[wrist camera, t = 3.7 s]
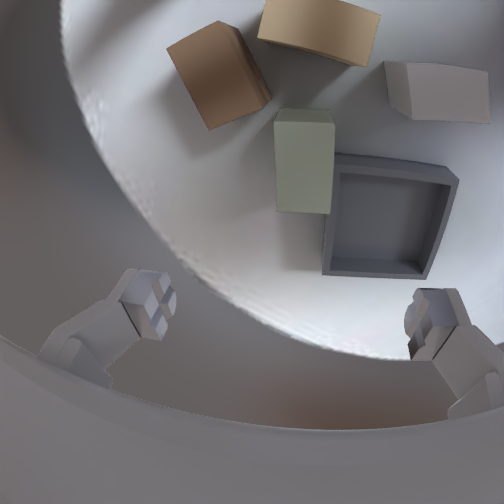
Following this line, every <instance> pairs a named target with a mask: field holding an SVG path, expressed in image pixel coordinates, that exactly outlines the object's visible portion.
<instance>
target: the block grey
mask: <svg viewBox="0 0 504 504" xmlns="http://www.w3.org/2000/svg"><path fill="white" fill-rule="evenodd" d="M383 63H384V69H385V75H386V82H387V89H388V96H389V105H390V107H392V108H393V109H395V110H397V111H398V112H400V113H402V114H403V115H405V116H406V117H408V118H409V119H411V120H412V121H456V122H472V123H484V124H490V94H489V79H488V72H486V71H481V70H476V69H471V68H466V67H460V66H453V65H445V64H435V63H422V62H399V61H383Z"/></svg>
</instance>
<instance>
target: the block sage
mask: <svg viewBox="0 0 504 504" xmlns="http://www.w3.org/2000/svg"><path fill="white" fill-rule="evenodd" d="M273 124H274V147H275V173H276V206H277V212H297V213H317V214H330V209H331V197H332V184H333V169H334V150H335V122H334V120H333V117H332V115H331V113H330V111H329V110H327V109H305V108H280V110H279V112H278V114H277V116H276V118H275V119H274V121H273Z"/></svg>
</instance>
